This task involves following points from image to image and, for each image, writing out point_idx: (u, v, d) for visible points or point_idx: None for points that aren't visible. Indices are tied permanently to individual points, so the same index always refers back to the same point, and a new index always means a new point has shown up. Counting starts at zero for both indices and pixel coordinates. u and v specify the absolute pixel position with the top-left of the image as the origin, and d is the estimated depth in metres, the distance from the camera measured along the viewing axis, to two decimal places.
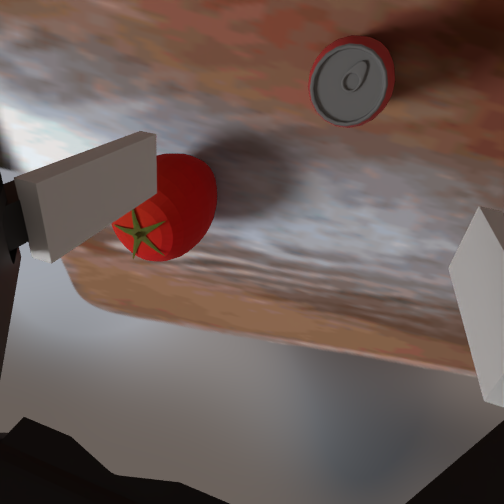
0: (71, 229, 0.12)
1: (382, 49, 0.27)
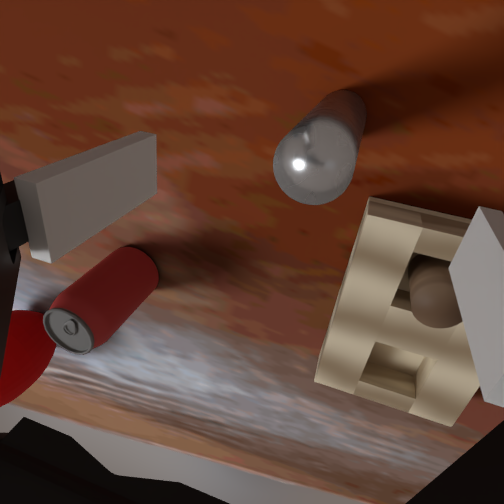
0: (71, 229, 0.12)
1: (91, 306, 0.35)
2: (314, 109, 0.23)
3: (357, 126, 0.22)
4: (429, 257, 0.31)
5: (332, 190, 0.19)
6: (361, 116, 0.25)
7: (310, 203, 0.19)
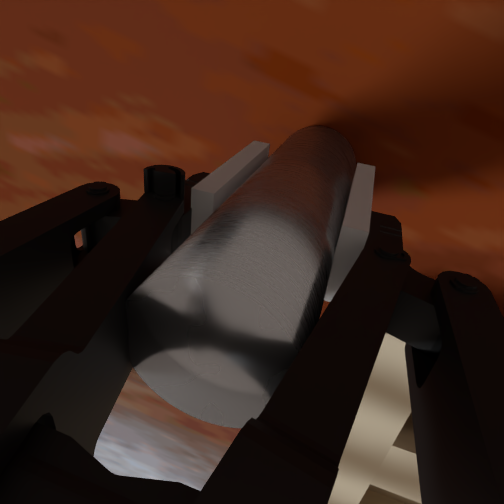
0: None
1: None
2: (249, 180, 0.12)
3: (329, 220, 0.11)
4: None
5: (257, 410, 0.08)
6: (342, 183, 0.14)
7: (213, 422, 0.08)
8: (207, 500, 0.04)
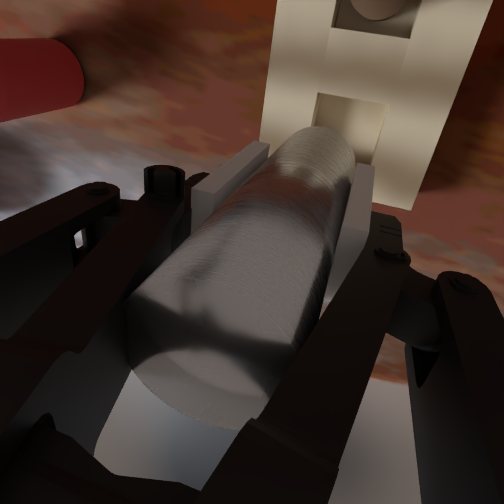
0: None
1: None
2: (248, 181, 0.12)
3: (328, 221, 0.11)
4: None
5: (256, 412, 0.08)
6: (342, 183, 0.14)
7: (212, 423, 0.08)
8: (207, 500, 0.04)
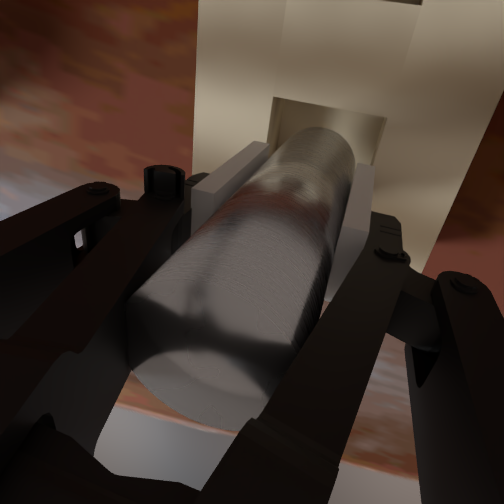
0: None
1: None
2: (248, 182, 0.12)
3: (328, 222, 0.11)
4: None
5: (256, 413, 0.08)
6: (342, 184, 0.14)
7: (212, 425, 0.08)
8: (207, 500, 0.04)
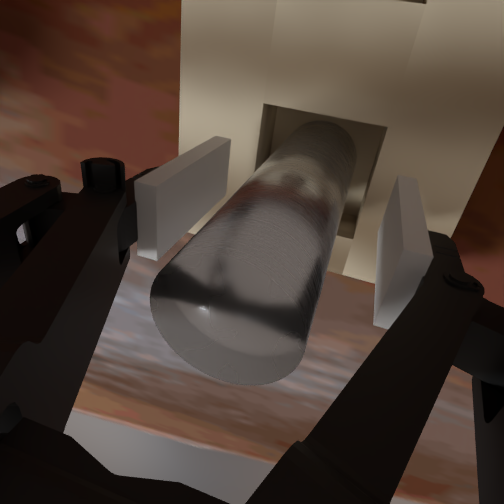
0: (172, 229, 0.13)
1: None
2: (258, 173, 0.13)
3: (330, 208, 0.12)
4: None
5: (267, 368, 0.09)
6: (343, 174, 0.15)
7: (229, 380, 0.10)
8: None
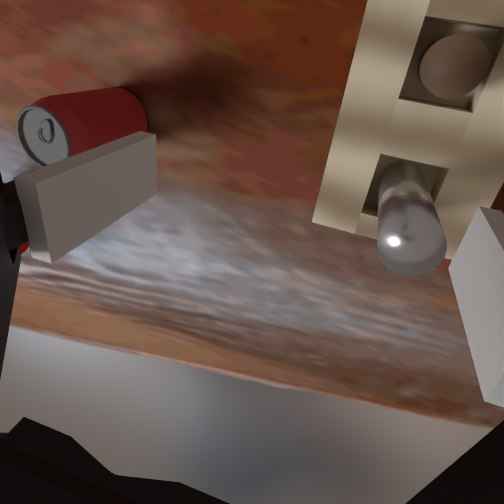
0: (71, 229, 0.12)
1: (69, 109, 0.32)
2: (396, 190, 0.27)
3: (434, 206, 0.27)
4: None
5: (426, 266, 0.23)
6: None
7: (405, 274, 0.24)
8: None
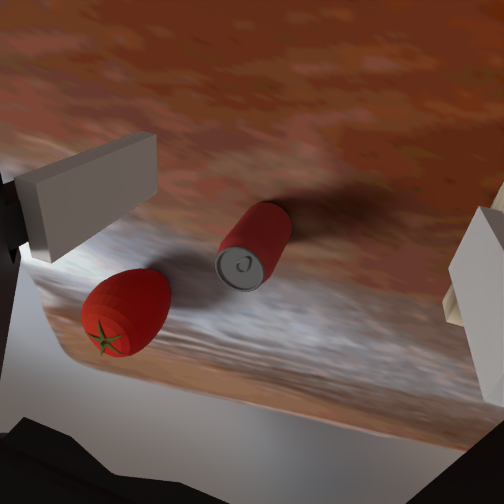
0: (71, 229, 0.12)
1: (262, 246, 0.39)
2: None
3: None
4: None
5: None
6: None
7: None
8: None
